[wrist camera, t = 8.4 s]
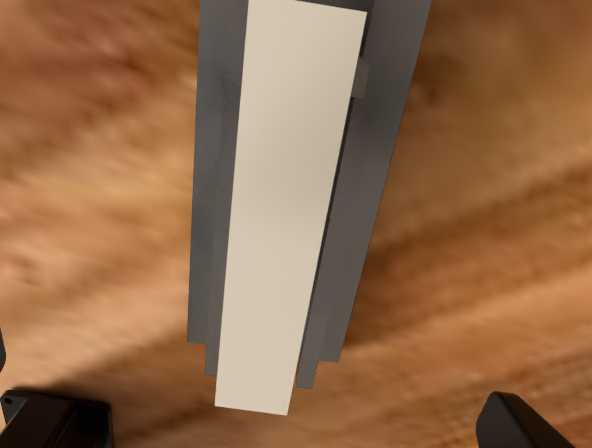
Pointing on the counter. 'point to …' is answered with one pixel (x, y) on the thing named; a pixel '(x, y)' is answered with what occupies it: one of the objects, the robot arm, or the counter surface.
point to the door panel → (282, 189)
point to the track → (347, 181)
